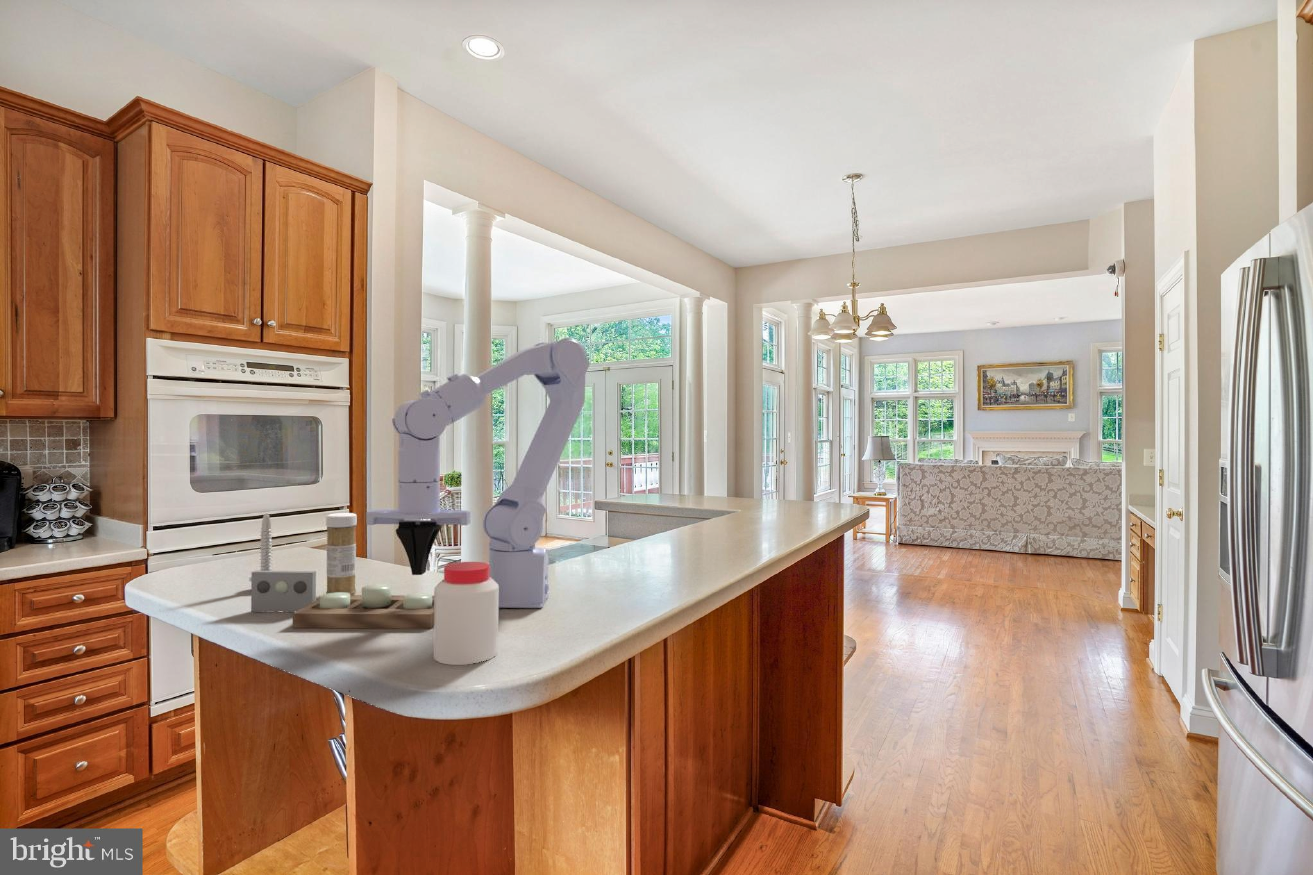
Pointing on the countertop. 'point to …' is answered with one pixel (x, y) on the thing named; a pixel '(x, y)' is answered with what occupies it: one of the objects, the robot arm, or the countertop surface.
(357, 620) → the wooden compartment tray
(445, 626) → the pill bottle
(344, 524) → the sprinkles bottle
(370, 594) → the button mid
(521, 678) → the countertop surface
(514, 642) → the countertop surface
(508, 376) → the robot arm
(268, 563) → the screw
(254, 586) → the card
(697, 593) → the countertop surface
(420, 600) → the button
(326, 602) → the button
